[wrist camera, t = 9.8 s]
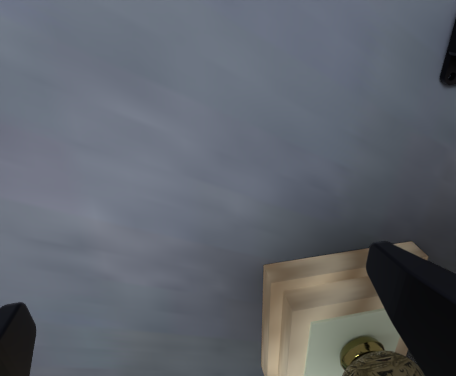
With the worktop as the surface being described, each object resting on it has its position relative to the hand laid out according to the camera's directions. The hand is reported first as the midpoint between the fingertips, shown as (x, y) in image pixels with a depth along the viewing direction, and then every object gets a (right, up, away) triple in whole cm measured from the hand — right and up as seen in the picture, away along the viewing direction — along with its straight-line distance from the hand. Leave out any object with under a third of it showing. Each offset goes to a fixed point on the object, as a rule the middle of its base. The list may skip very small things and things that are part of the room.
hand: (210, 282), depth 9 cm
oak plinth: (+10, -8, +22) cm, 26 cm away
